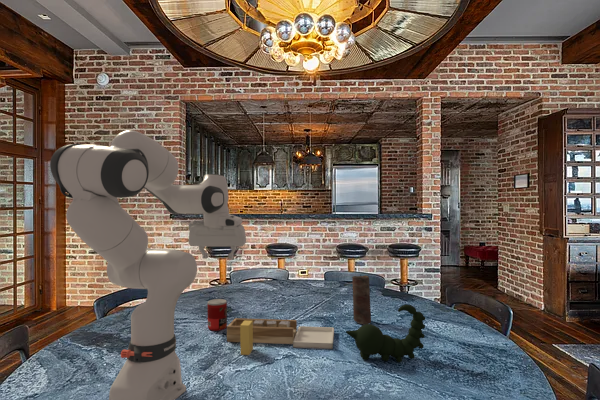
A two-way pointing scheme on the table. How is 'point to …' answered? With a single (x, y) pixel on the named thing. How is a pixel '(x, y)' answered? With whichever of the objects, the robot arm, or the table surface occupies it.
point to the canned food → (217, 314)
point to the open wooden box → (264, 331)
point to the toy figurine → (390, 339)
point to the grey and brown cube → (284, 324)
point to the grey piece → (271, 323)
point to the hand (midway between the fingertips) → (218, 258)
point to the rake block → (246, 337)
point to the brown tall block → (361, 299)
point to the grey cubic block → (258, 323)
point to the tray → (314, 337)
